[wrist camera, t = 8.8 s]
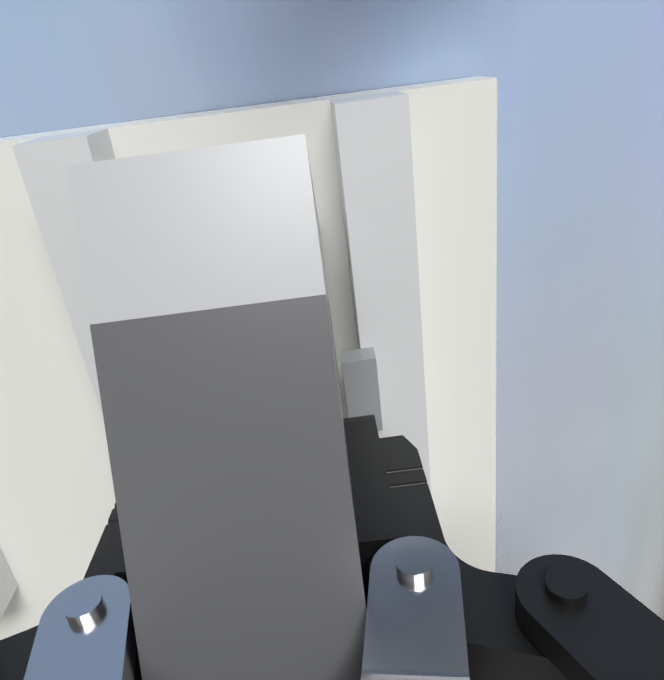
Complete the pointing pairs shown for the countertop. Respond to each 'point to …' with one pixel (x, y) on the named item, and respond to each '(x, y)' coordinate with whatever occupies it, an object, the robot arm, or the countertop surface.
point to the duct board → (344, 299)
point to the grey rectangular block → (223, 411)
